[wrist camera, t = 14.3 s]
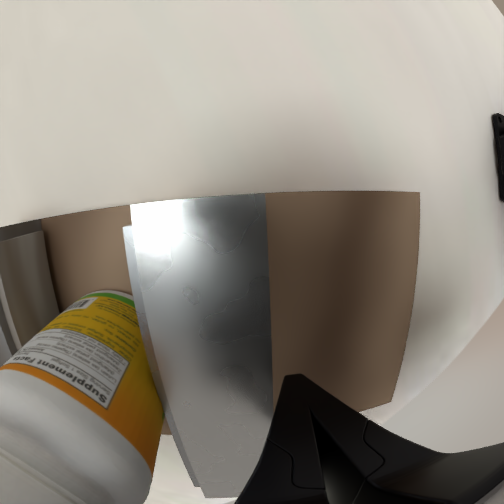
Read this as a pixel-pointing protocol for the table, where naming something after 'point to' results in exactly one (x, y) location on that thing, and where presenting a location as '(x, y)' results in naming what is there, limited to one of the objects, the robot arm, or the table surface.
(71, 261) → the vise bed
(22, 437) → the supplement bottle
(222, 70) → the table surface
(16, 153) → the table surface
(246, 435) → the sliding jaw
